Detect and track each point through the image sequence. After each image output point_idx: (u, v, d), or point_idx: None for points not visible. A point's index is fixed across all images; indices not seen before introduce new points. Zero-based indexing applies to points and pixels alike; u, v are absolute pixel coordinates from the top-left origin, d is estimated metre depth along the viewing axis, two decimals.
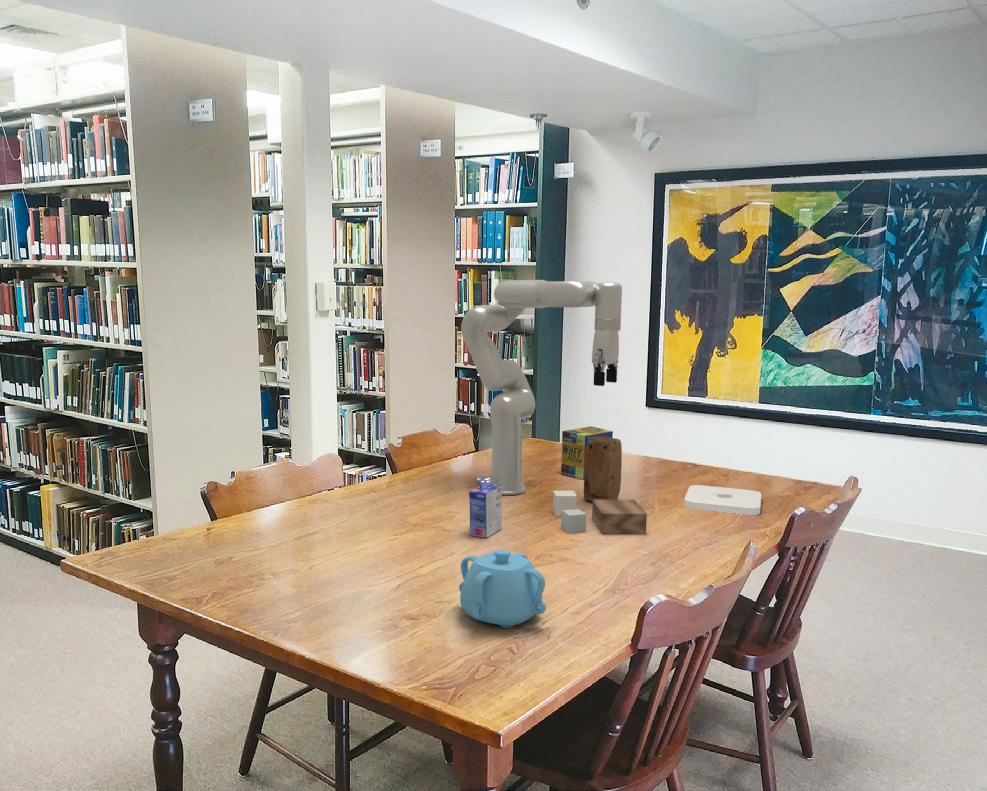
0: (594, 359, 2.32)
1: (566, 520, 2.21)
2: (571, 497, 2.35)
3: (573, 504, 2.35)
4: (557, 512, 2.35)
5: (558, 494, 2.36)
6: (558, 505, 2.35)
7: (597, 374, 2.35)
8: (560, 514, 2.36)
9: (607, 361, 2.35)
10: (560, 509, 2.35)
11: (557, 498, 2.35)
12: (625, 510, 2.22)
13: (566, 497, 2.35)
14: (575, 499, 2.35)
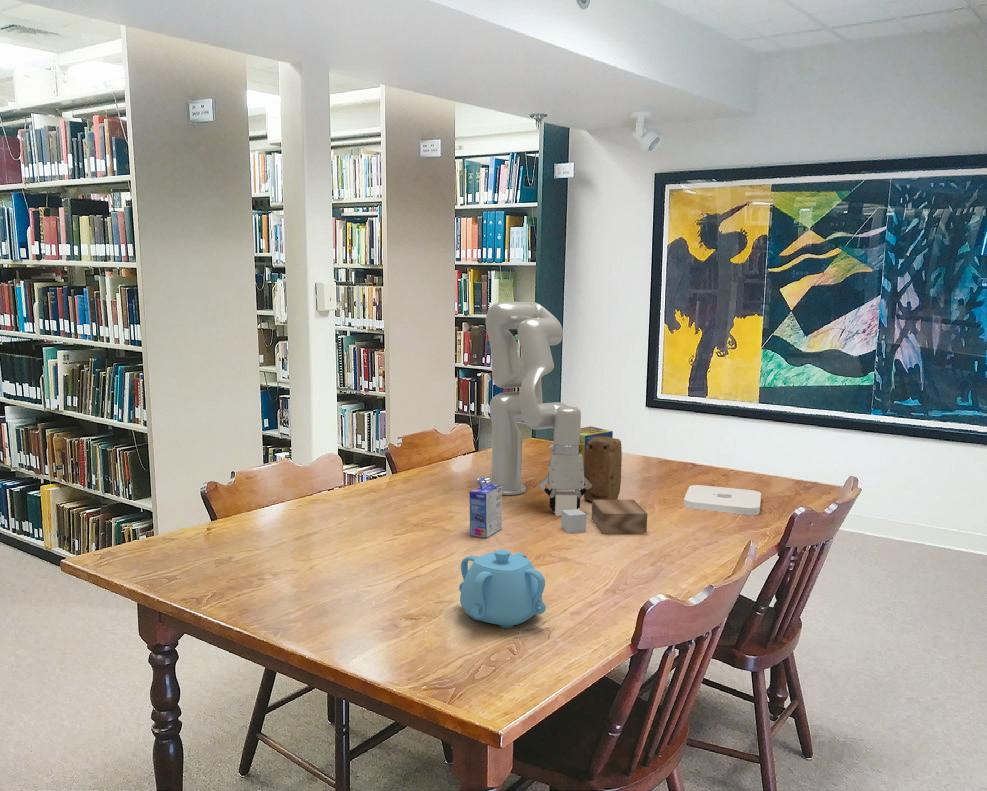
0: None
1: (566, 520, 2.21)
2: (571, 497, 2.35)
3: (573, 504, 2.35)
4: (557, 512, 2.35)
5: (558, 494, 2.36)
6: (558, 505, 2.35)
7: None
8: (560, 514, 2.36)
9: None
10: (560, 509, 2.35)
11: (557, 498, 2.35)
12: (625, 510, 2.22)
13: (566, 497, 2.35)
14: (575, 499, 2.35)
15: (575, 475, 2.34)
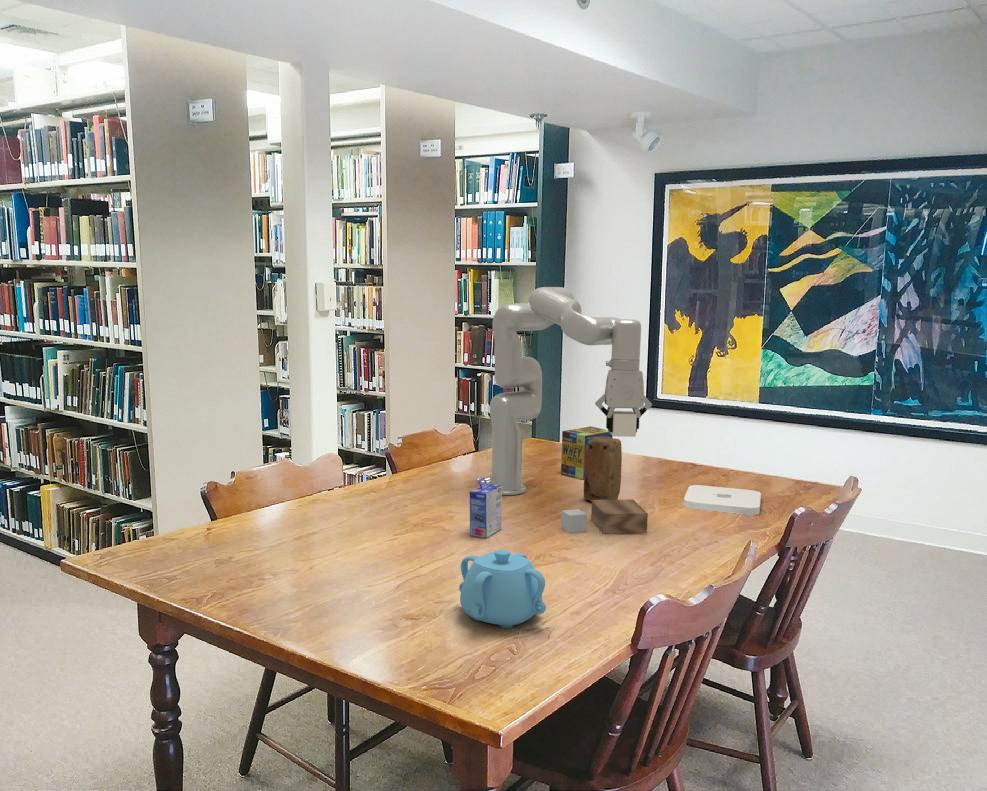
0: None
1: (566, 520, 2.21)
2: (630, 416, 2.19)
3: (633, 423, 2.20)
4: (615, 432, 2.20)
5: (616, 413, 2.21)
6: (616, 425, 2.19)
7: None
8: (618, 434, 2.20)
9: None
10: (619, 429, 2.20)
11: (615, 417, 2.19)
12: (625, 510, 2.22)
13: (625, 416, 2.19)
14: (635, 418, 2.20)
15: (635, 392, 2.19)
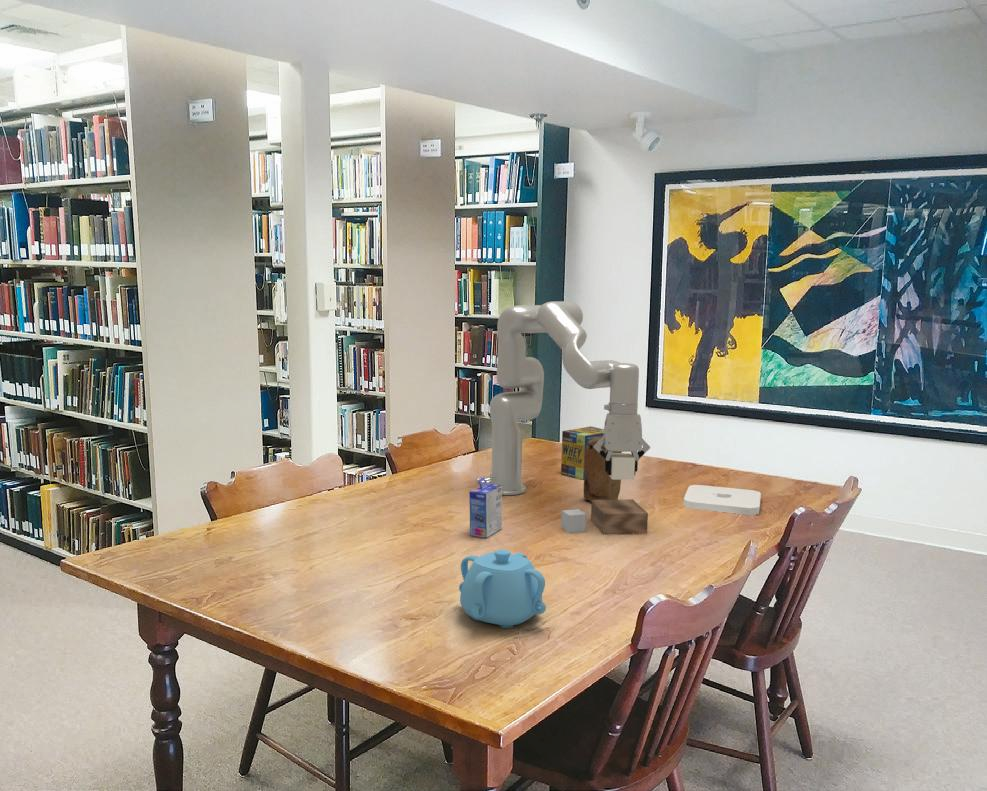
0: None
1: (566, 520, 2.21)
2: (629, 459, 2.21)
3: (631, 467, 2.21)
4: (614, 475, 2.21)
5: (615, 456, 2.22)
6: (614, 468, 2.21)
7: None
8: (617, 477, 2.21)
9: None
10: (617, 472, 2.21)
11: (614, 460, 2.21)
12: (626, 510, 2.22)
13: (623, 459, 2.21)
14: (633, 461, 2.21)
15: (633, 436, 2.21)
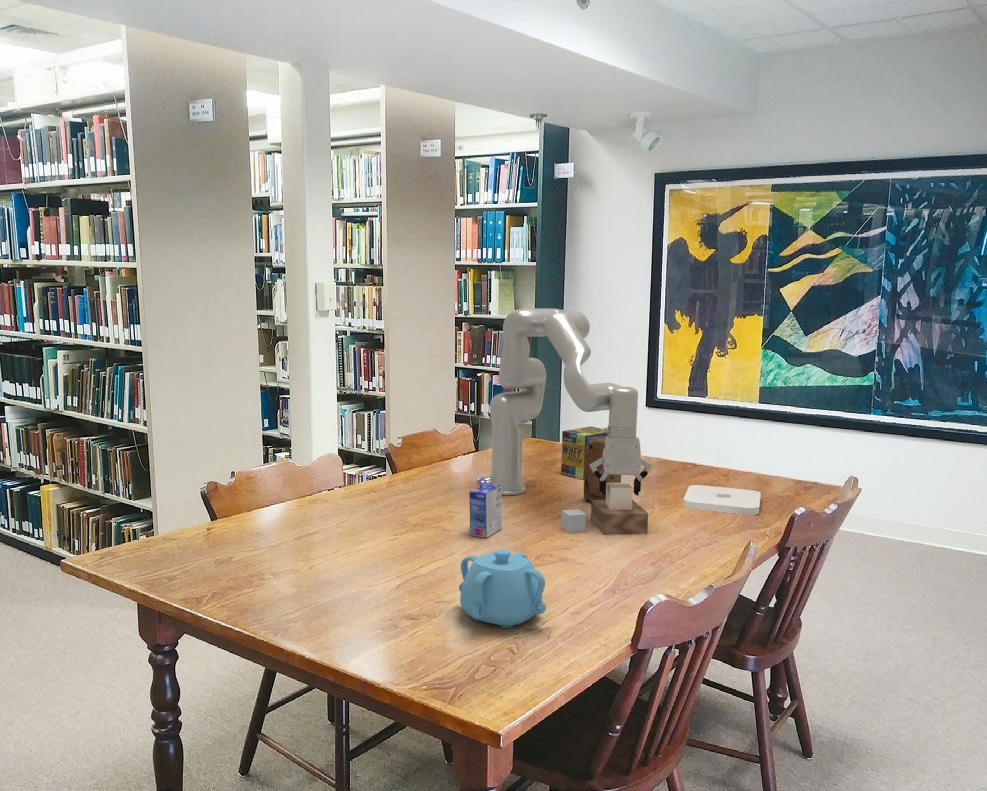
0: None
1: (566, 520, 2.21)
2: (626, 489, 2.22)
3: (629, 497, 2.23)
4: (611, 505, 2.23)
5: (612, 486, 2.24)
6: (612, 498, 2.23)
7: None
8: (614, 507, 2.23)
9: None
10: (615, 502, 2.23)
11: (611, 490, 2.22)
12: (626, 510, 2.22)
13: (621, 489, 2.22)
14: (630, 491, 2.23)
15: (632, 459, 2.21)
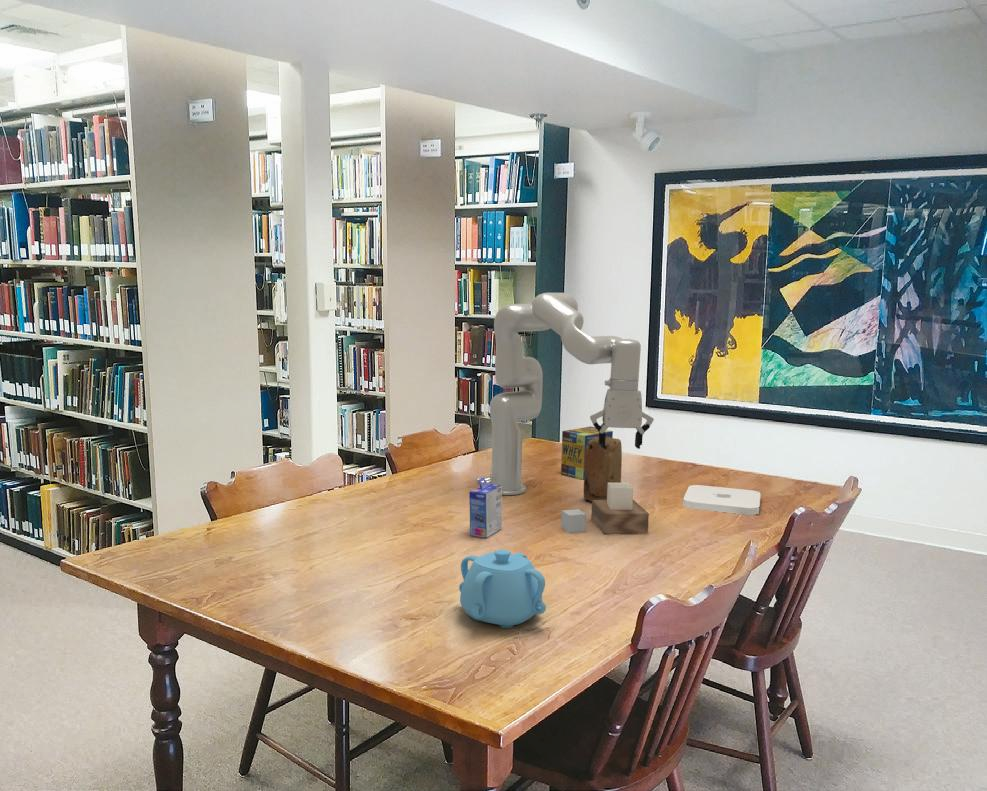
0: None
1: (566, 520, 2.21)
2: (627, 489, 2.22)
3: (629, 497, 2.22)
4: (612, 505, 2.23)
5: (613, 486, 2.24)
6: (612, 498, 2.22)
7: None
8: (615, 507, 2.23)
9: None
10: (615, 502, 2.23)
11: (612, 490, 2.22)
12: (626, 510, 2.22)
13: (622, 489, 2.22)
14: (631, 492, 2.22)
15: (633, 412, 2.20)
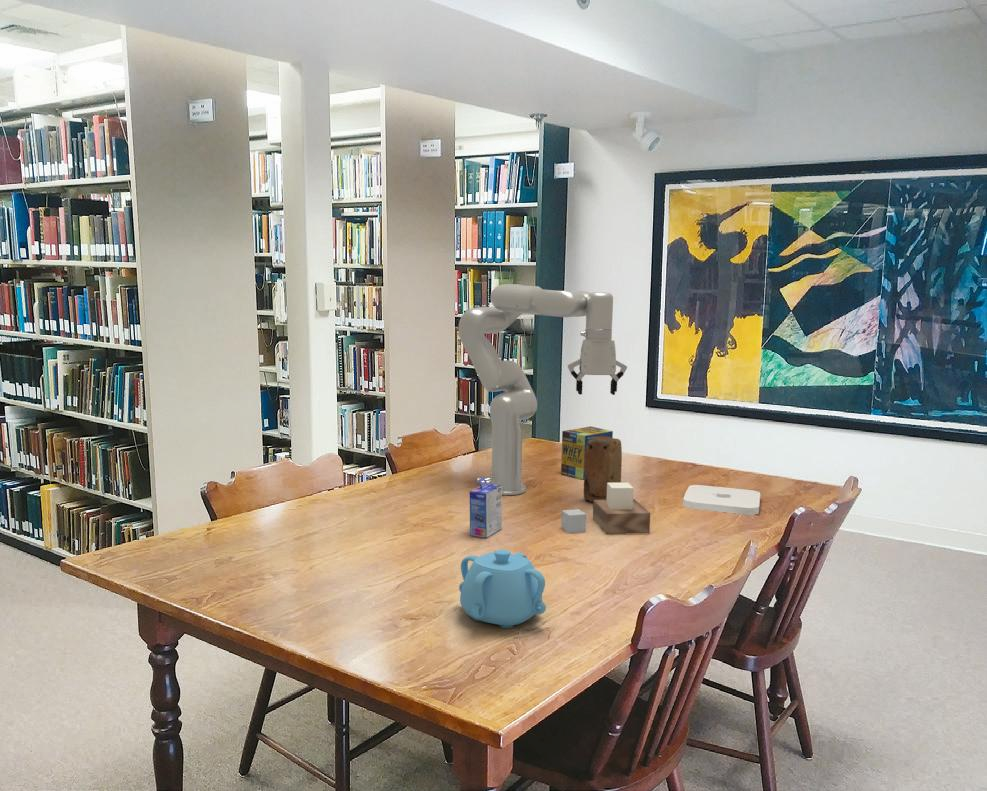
0: None
1: (566, 520, 2.21)
2: (627, 489, 2.23)
3: (629, 497, 2.23)
4: (612, 505, 2.23)
5: (613, 486, 2.24)
6: (613, 498, 2.23)
7: None
8: (615, 507, 2.23)
9: None
10: (615, 502, 2.23)
11: (612, 490, 2.22)
12: (628, 510, 2.23)
13: (622, 489, 2.22)
14: (631, 491, 2.23)
15: (607, 360, 2.35)
